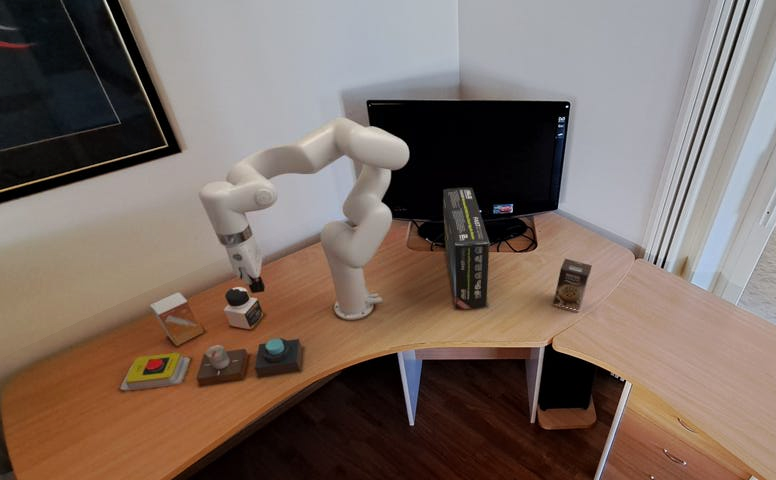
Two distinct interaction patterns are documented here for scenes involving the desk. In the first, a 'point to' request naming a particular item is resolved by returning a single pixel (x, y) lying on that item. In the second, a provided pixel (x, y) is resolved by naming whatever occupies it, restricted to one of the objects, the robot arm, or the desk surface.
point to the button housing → (279, 359)
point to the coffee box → (572, 285)
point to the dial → (218, 356)
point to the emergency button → (155, 371)
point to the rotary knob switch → (223, 369)
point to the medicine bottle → (242, 308)
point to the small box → (177, 318)
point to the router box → (466, 248)
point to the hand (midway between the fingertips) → (258, 290)
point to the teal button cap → (275, 346)
